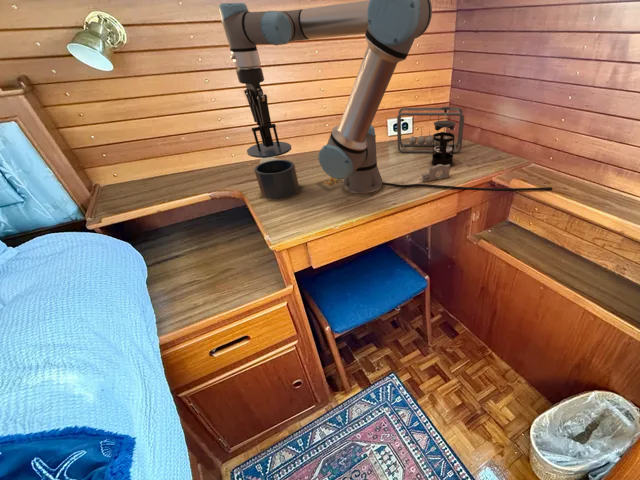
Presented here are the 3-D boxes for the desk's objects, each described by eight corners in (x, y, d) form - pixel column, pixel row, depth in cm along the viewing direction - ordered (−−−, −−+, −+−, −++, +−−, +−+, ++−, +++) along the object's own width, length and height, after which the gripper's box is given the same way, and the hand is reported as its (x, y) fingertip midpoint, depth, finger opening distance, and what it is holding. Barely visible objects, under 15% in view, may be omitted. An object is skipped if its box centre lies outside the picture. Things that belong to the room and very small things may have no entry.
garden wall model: (422, 182, 131) (423, 167, 127) (420, 180, 132) (421, 166, 128) (449, 177, 134) (451, 163, 130) (447, 175, 135) (448, 161, 131)
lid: (299, 152, 116) (293, 126, 110) (257, 163, 108) (249, 135, 103) (281, 141, 125) (275, 117, 119) (241, 151, 117) (233, 125, 112)
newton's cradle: (397, 153, 157) (396, 113, 146) (399, 145, 165) (398, 107, 154) (460, 153, 155) (464, 113, 144) (459, 146, 163) (462, 107, 152)
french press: (454, 167, 142) (459, 110, 127) (432, 168, 142) (434, 110, 128) (451, 158, 151) (455, 103, 137) (430, 158, 151) (432, 103, 137)
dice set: (333, 180, 134) (333, 175, 133) (340, 183, 131) (340, 179, 130) (322, 183, 131) (322, 179, 130) (329, 187, 128) (329, 183, 127)
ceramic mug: (276, 180, 135) (271, 161, 130) (261, 176, 138) (256, 158, 133) (294, 171, 142) (290, 153, 137) (280, 168, 145) (276, 150, 140)
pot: (306, 192, 125) (300, 166, 119) (270, 204, 118) (263, 177, 112) (290, 181, 134) (284, 156, 127) (256, 191, 127) (248, 166, 120)
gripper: (228, 66, 103) (250, 143, 118) (244, 71, 94) (266, 153, 109) (251, 64, 107) (270, 138, 121) (269, 68, 98) (287, 148, 113)
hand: (268, 145), depth 115 cm, fingers closed on lid
